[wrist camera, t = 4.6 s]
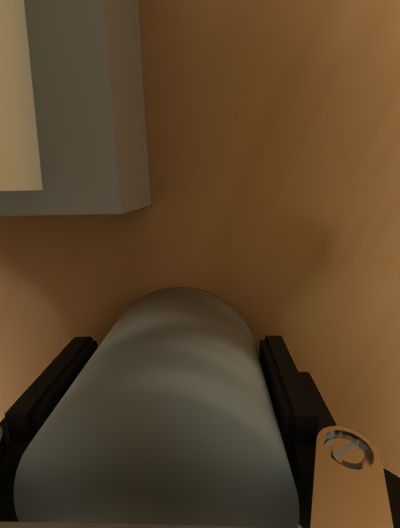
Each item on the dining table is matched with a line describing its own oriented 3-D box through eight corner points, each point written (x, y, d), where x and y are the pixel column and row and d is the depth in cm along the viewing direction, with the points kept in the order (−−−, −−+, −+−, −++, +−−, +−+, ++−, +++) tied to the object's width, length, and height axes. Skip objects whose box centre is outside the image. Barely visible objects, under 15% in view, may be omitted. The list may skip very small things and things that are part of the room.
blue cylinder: (258, 286, 11) (309, 394, 5) (254, 418, 13) (291, 617, 7) (101, 288, 11) (-14, 393, 6) (116, 418, 13) (38, 607, 7)
